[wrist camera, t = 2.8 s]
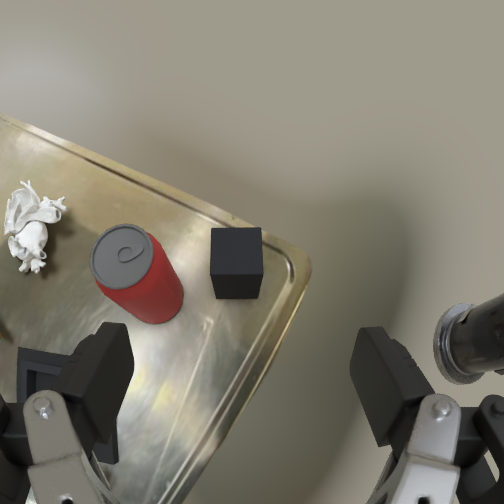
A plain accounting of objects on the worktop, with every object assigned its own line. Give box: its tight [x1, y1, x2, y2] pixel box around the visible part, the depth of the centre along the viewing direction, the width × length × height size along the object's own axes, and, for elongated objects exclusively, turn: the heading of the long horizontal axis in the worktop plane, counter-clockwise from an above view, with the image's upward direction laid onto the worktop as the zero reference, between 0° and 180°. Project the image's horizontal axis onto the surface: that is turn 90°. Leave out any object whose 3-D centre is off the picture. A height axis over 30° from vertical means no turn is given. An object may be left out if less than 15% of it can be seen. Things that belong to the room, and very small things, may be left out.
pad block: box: [210, 227, 263, 299], centre depth 31 cm, size 5×5×8 cm
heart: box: [4, 180, 67, 274], centre depth 33 cm, size 12×7×12 cm
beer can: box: [90, 224, 184, 324], centre depth 28 cm, size 7×7×12 cm
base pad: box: [17, 347, 119, 465], centre depth 25 cm, size 14×12×4 cm
